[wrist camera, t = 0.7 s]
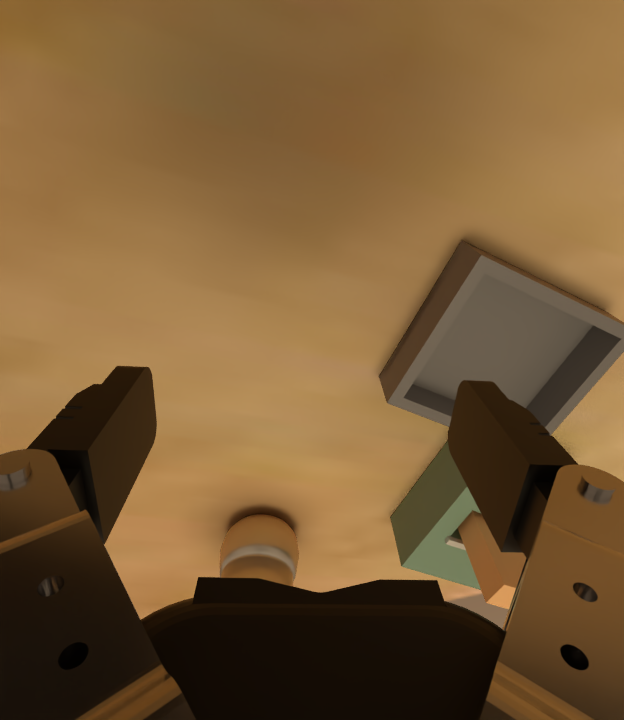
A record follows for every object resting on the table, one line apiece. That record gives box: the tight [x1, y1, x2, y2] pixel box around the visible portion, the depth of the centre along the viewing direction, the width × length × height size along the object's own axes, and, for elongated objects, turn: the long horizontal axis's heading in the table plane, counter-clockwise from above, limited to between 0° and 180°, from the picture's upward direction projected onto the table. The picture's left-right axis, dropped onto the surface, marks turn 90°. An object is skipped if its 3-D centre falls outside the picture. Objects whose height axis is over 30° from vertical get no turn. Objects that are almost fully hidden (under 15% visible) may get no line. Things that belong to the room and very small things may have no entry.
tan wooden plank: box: [458, 510, 526, 609], centre depth 33 cm, size 2×6×9 cm, turn 65°
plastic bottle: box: [220, 514, 299, 587], centre depth 32 cm, size 6×7×20 cm
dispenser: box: [390, 441, 481, 590], centre depth 36 cm, size 12×10×5 cm
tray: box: [379, 241, 624, 435], centre depth 31 cm, size 11×12×4 cm
